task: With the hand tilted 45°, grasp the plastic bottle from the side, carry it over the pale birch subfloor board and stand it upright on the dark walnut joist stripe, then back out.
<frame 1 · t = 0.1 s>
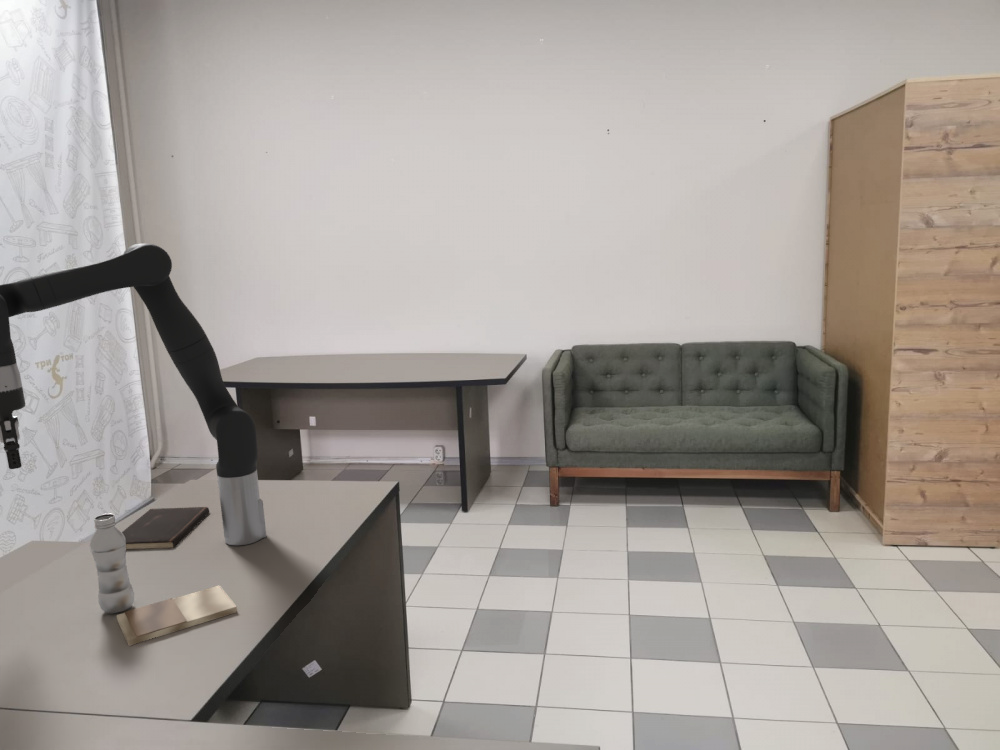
hand: (14, 463, 162), 29 cm above the table, tool pointing down, fingers open, 8 cm apart
plastic bottle: (118, 610, 159), on the table
hardcover book: (162, 533, 201), on the table
subfloor board: (177, 616, 155), on the table
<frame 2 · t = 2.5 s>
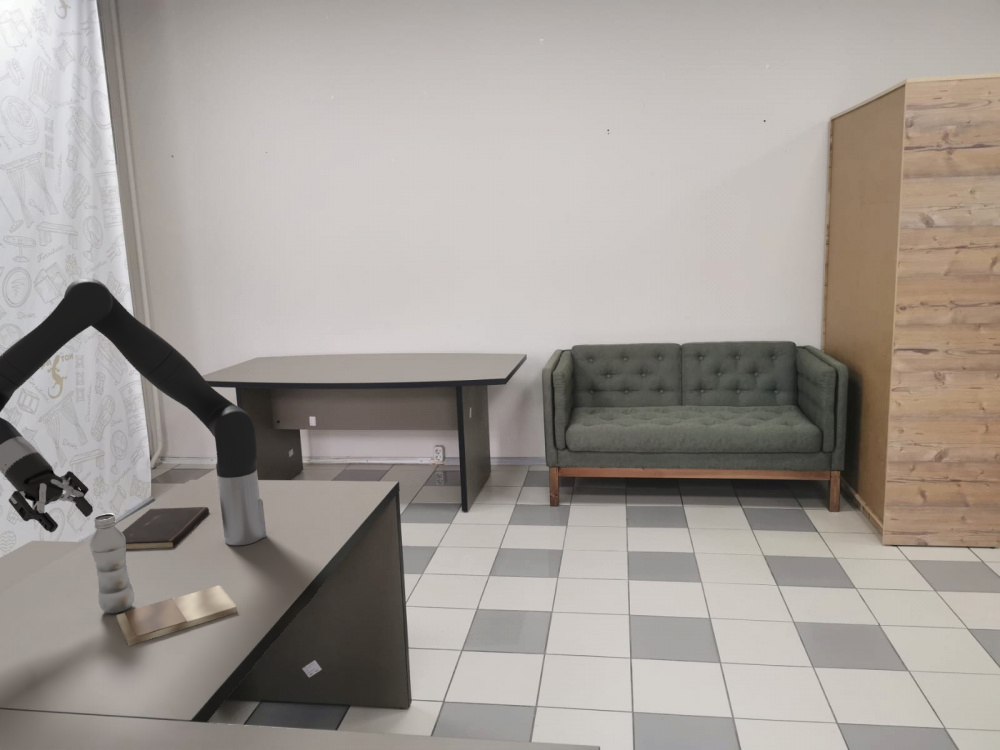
hand: (73, 521, 158), 18 cm above the table, tool tilted 45°, fingers open, 8 cm apart
nothing on the table moved.
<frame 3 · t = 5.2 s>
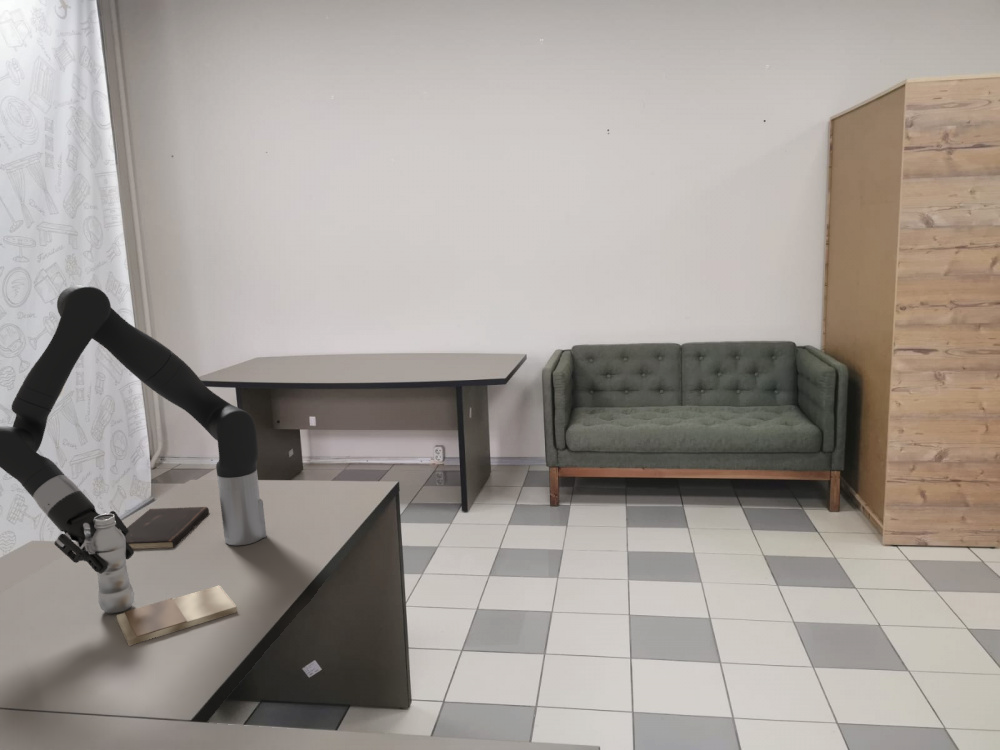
hand: (117, 563, 157), 10 cm above the table, tool tilted 45°, fingers closed on plastic bottle, 6 cm apart
plastic bottle: (118, 610, 159), on the table, touching gripper
everything else where it was.
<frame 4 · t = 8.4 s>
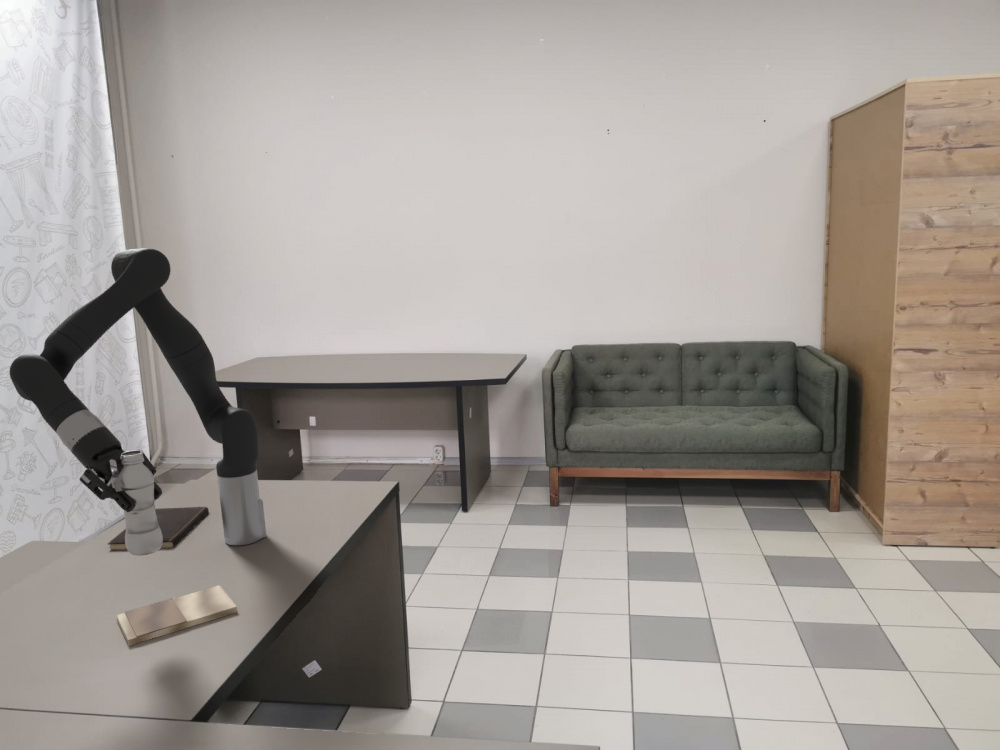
hand: (145, 502, 148), 25 cm above the table, tool tilted 45°, fingers closed on plastic bottle, 6 cm apart
plastic bottle: (145, 553, 150), point 14 cm above the table, touching gripper
everything else where it was.
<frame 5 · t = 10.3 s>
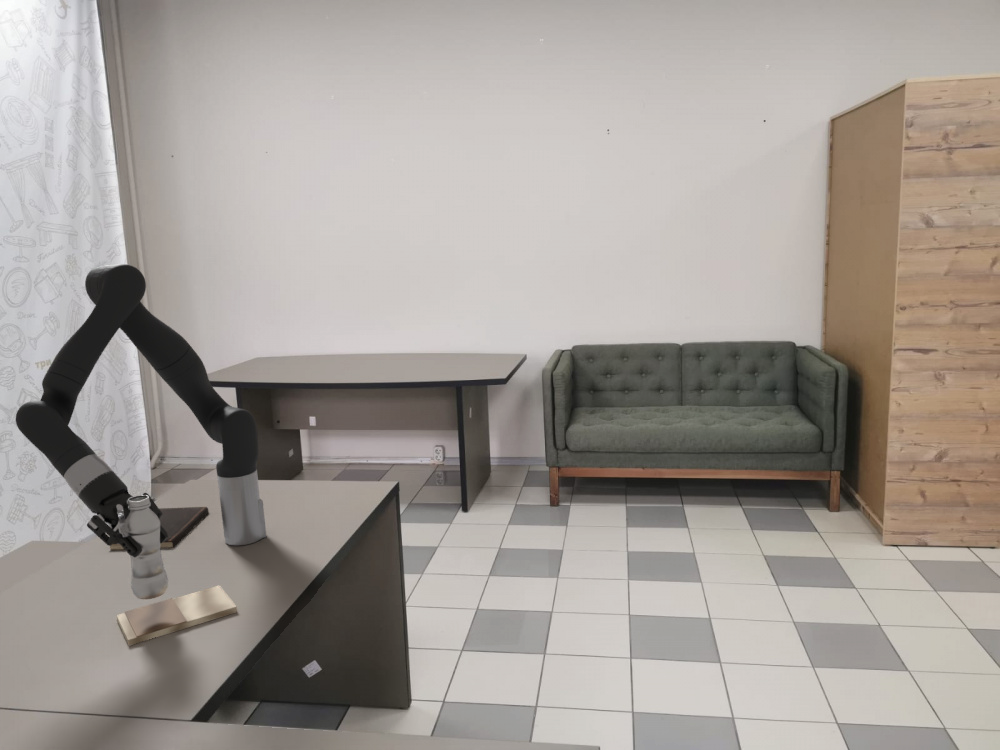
hand: (151, 546, 149), 16 cm above the table, tool tilted 45°, fingers closed on plastic bottle, 6 cm apart
plastic bottle: (151, 596, 152), point 6 cm above the table, touching gripper
everything else where it was.
when the fingers open (13 cm above the table, at t = 11.7 s): plastic bottle drops 1 cm, resting on subfloor board.
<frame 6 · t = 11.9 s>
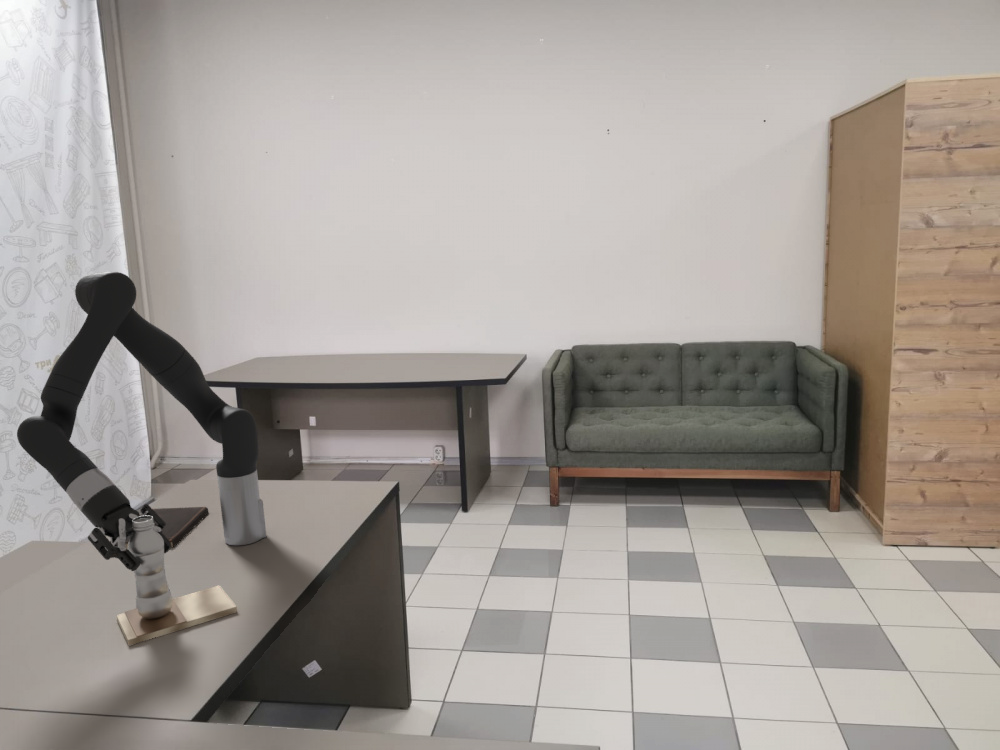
hand: (153, 558, 150), 14 cm above the table, tool tilted 45°, fingers open, 8 cm apart
plastic bottle: (156, 615, 153), point 1 cm above the table, touching subfloor board
everything else where it was.
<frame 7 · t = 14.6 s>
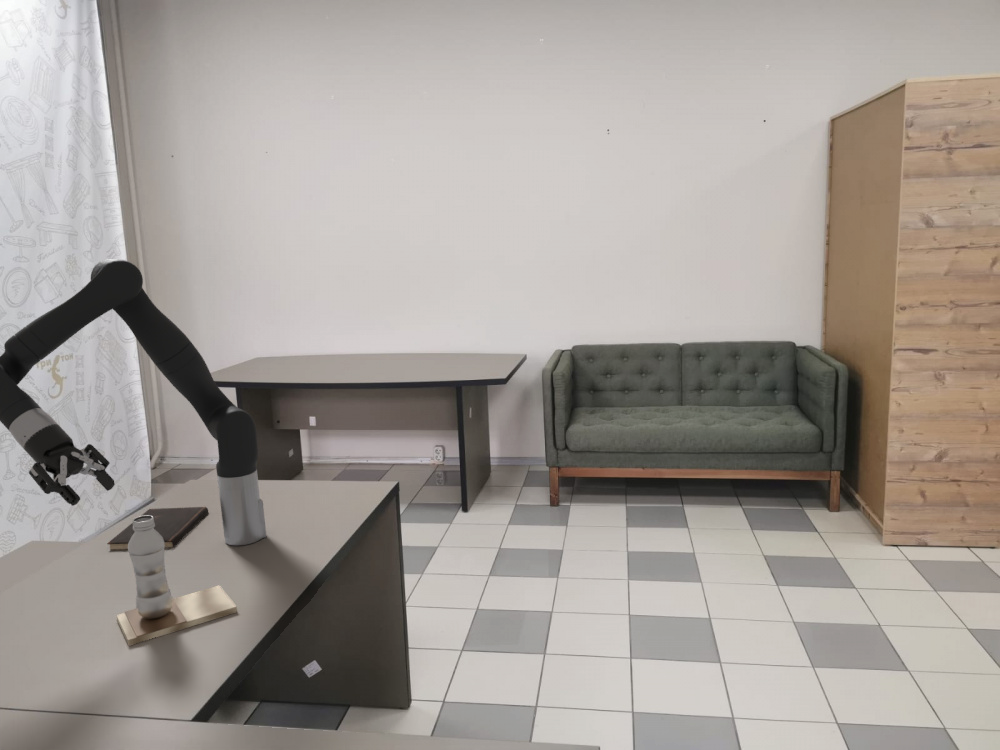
hand: (94, 494, 154), 25 cm above the table, tool tilted 45°, fingers open, 8 cm apart
nothing on the table moved.
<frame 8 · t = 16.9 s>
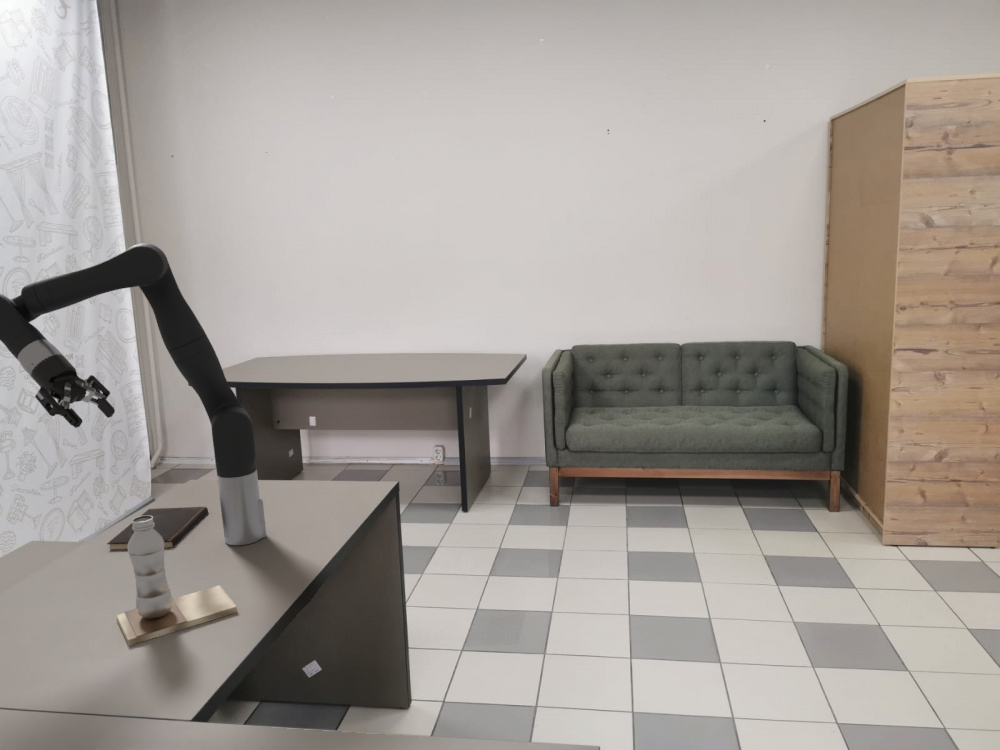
hand: (96, 419, 166), 37 cm above the table, tool tilted 45°, fingers open, 8 cm apart
nothing on the table moved.
at the end: plastic bottle inside the target area on the subfloor board (0.5 cm from its centre), point 1.2 cm above the subfloor board's base; plastic bottle tilted 0°; the gripper is holding nothing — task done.
